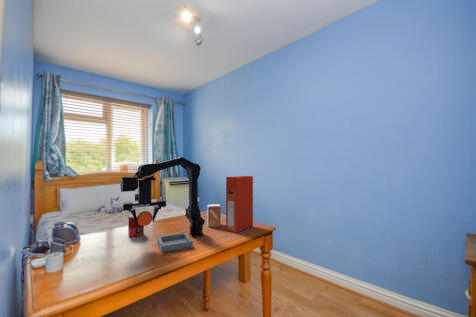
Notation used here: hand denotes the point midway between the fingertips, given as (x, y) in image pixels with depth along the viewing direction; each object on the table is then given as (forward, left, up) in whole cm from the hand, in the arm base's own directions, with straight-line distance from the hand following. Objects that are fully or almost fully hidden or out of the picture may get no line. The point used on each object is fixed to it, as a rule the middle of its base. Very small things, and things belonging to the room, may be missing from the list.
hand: (144, 222), depth 102 cm
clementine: (0, 0, -2) cm, 2 cm away
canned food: (+3, -19, -12) cm, 23 cm away
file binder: (-54, -4, -12) cm, 55 cm away
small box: (-42, -17, -12) cm, 47 cm away
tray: (-13, +5, -11) cm, 18 cm away
